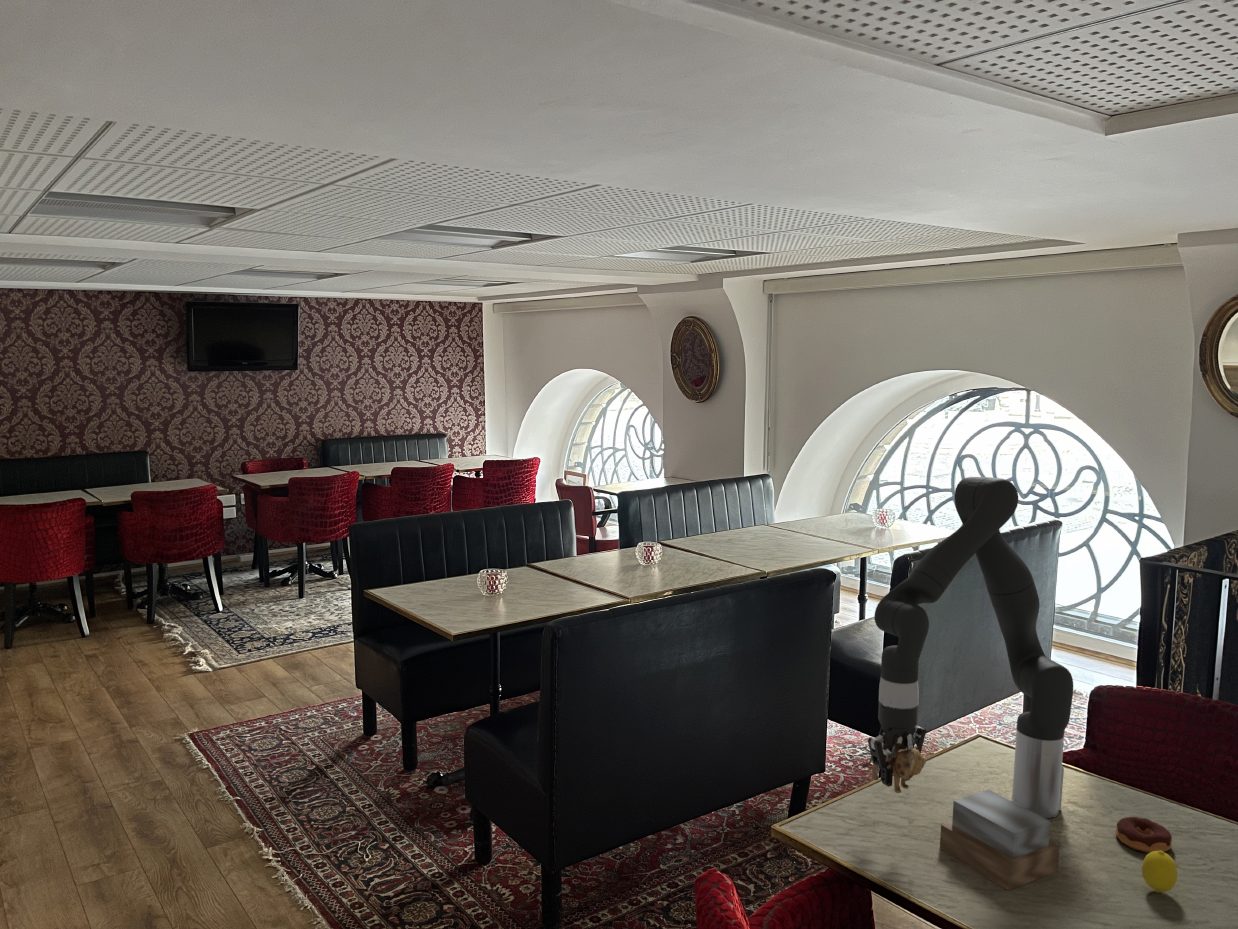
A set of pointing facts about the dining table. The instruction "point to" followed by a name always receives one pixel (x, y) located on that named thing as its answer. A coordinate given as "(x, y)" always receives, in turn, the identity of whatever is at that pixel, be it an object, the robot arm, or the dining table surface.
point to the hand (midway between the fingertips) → (895, 781)
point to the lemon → (1159, 871)
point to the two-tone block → (1000, 839)
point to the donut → (1143, 834)
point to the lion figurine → (902, 767)
